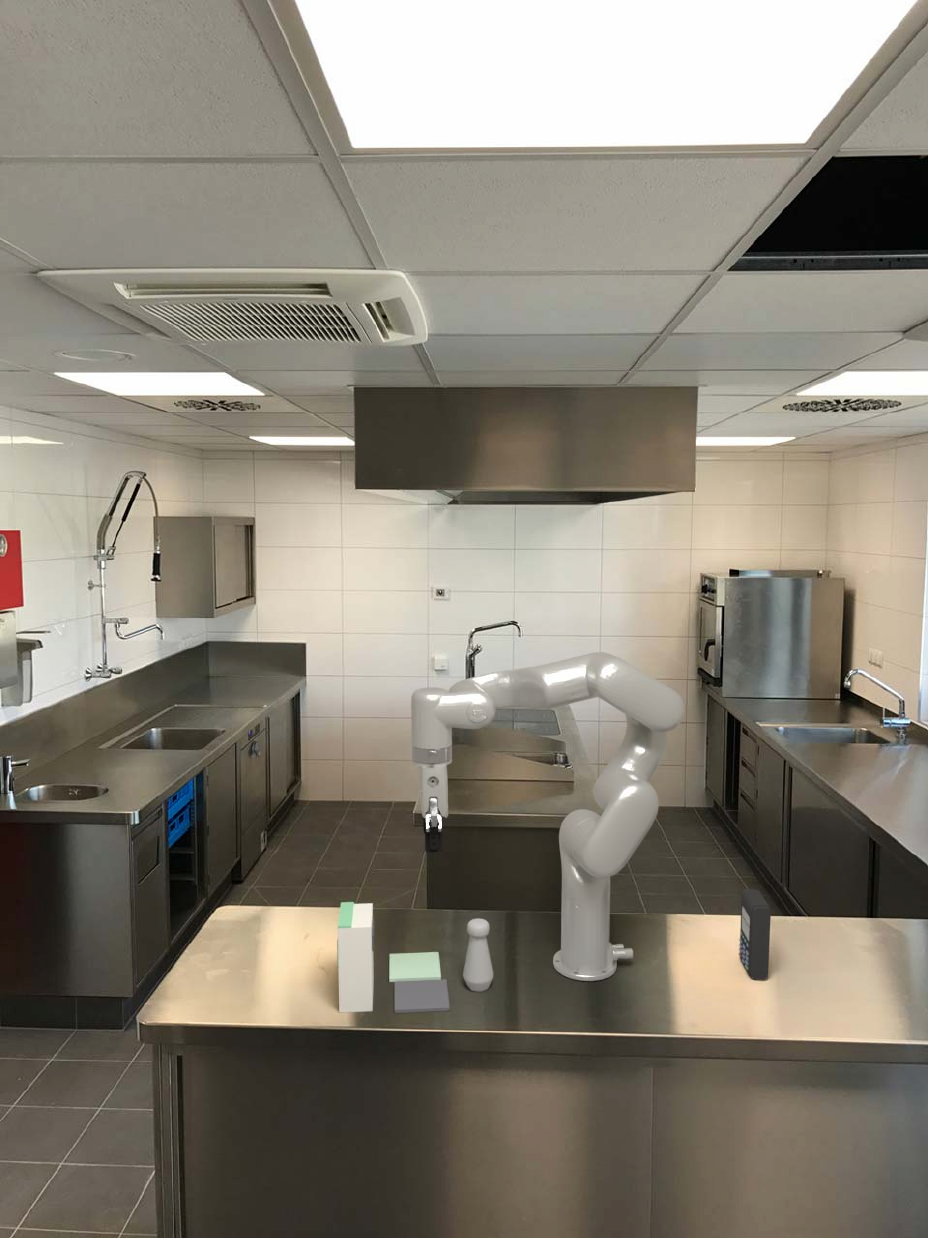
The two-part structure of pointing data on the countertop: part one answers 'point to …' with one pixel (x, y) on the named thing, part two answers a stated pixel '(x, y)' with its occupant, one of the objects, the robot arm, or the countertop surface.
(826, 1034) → the countertop surface
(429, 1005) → the grey pad
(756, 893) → the card reader
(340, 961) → the block
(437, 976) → the green pad
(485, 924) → the salt shaker
